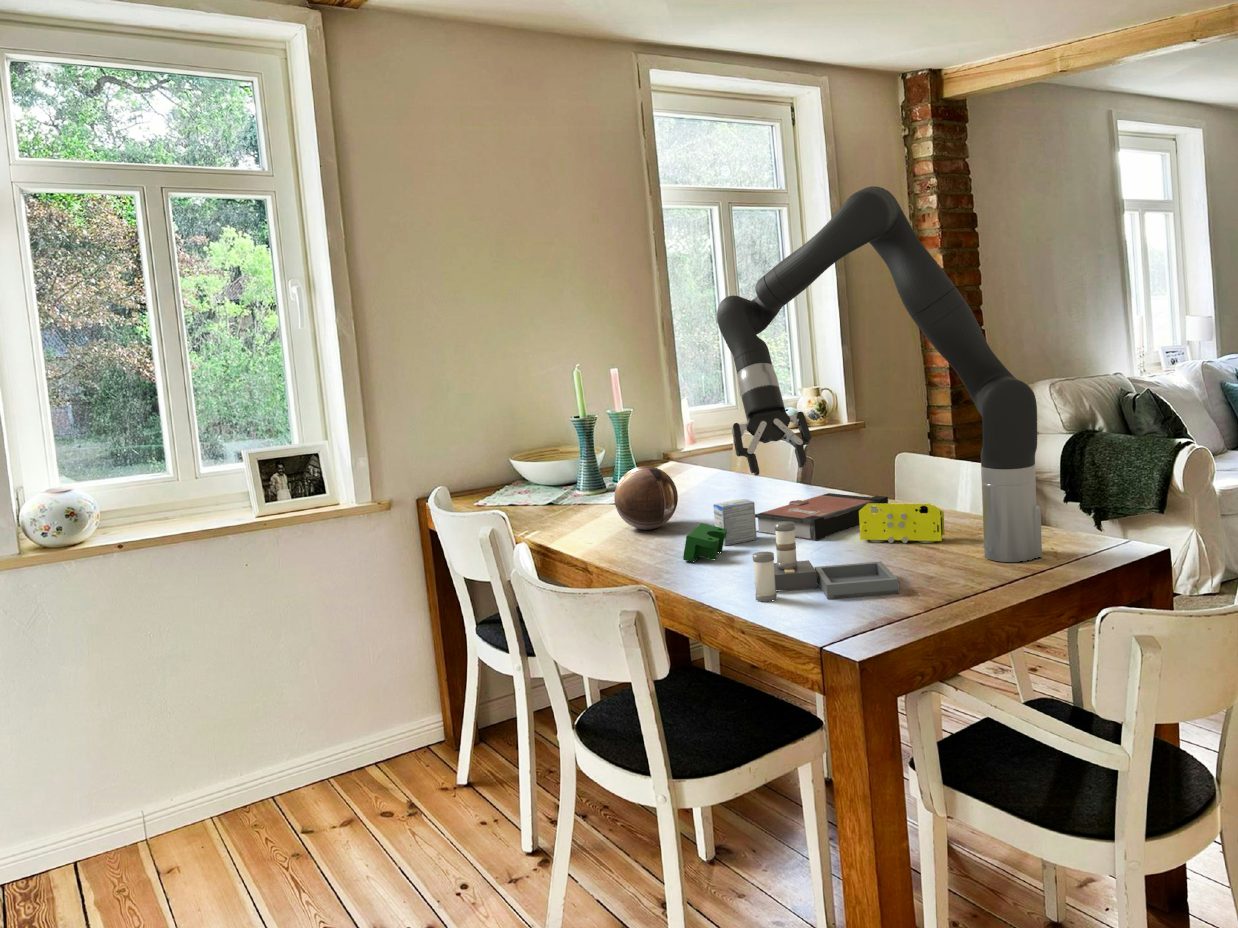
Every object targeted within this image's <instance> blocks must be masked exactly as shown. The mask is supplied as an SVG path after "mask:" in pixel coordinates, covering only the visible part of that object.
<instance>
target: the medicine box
mask: <svg viewBox="0 0 1238 928" xmlns="http://www.w3.org/2000/svg"><path fill="white" fill-rule="evenodd" d="M755 505H756V504H755V501H752V500H750V499H747V498H740V499H734V500H730V501H722V502H718V503H714V504H713V517H714V526H716V527H720V528H724V529H726V530H727V534H726V538H725V539H724V543H723V546H725V547H727V546H730V545H735V544H741V543H746V542H750V541H756V540H758V537H757V532H756V531H757V526H756V525H757V522H756V518H755V514H756V508H755V507H756V506H755Z"/></svg>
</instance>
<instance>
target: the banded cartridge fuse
mask: <svg viewBox="0 0 1238 928" xmlns="http://www.w3.org/2000/svg"><path fill="white" fill-rule="evenodd" d="M774 527H775V533H776V535H775V548H776V560H777V561H776V563H777V568H778V569H784V570H788V569H794V568H797V561H798V560H797V544H796V538H795V530H794V529H795V523H794V522H790V521H783V522H777V523H775V524H774Z"/></svg>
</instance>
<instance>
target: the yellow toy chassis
mask: <svg viewBox="0 0 1238 928" xmlns="http://www.w3.org/2000/svg"><path fill="white" fill-rule="evenodd" d="M859 524H860V525H859V538H860V540H862V541H863V540H864V541H865V540H866V541H868V540H869V541H870V543H883V542H886V541H888V543H890V544H893V543H894V542H895V541H901V542H902V543H903V544H907V543H908V541H918V542H919V543H921V544H931V543H935V542H942V538H943V536H945V535H946V534H945V511H944V510H942V509H941V508H940V507H938V506H936V505H934V504H931V503H888V504H867V505H865V506H864V507H863V508H862V509H861V510H859Z"/></svg>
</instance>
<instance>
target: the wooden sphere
mask: <svg viewBox="0 0 1238 928" xmlns="http://www.w3.org/2000/svg"><path fill="white" fill-rule="evenodd" d="M614 490H615V491H614V499H613V500H614V504H615V509H616V511H617V513H618V515H619V516H620V518H621V519H622V520H623V521H624V522H625V523H626V524H627V525H629V526H631V527H633V528H634V529H639V530H647V531H648V530H654V529H657V528H660V527H662V526H663V525H665V524H666V523H667V522H669V521H670V519H671V518H672V517H673V515H674V514H675V512H676V510H677V506H678V501H679V500H678V498H679V495H678V490H677V487H676V484H675V482H674V481H673V479H672V477H671V476H670V475H669V474H668V473H667V472H665V471H664V470H662V469H661V468H660V469H659V468H657V467H654V466H649V465H644V466H637V467H634V468H632V469H631V470H628V471H627V472H625V474H623V476H622V477H620V479H619V481H618V482H617V485H616V487H615V489H614Z"/></svg>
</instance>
